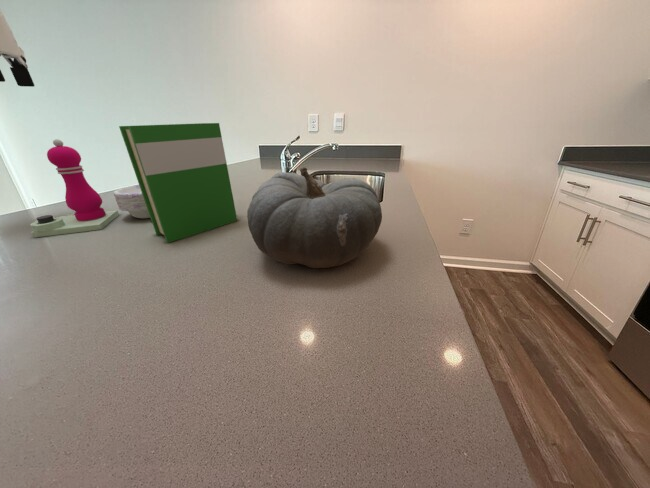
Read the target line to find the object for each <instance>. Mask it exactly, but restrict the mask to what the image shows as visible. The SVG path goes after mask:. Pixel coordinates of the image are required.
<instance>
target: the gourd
mask: <svg viewBox="0 0 650 488" xmlns="http://www.w3.org/2000/svg"><path fill="white" fill-rule="evenodd" d="M299 172H300V174H299V173H295V172H286V171H285V172H283V171H282V172H277V173H275V174H274V175H272V177H271V178H270V179H268V180H266V181H265V182H263V183H262V184H261V185H260V186H259V187H258V189H257V190H256V192H254V194H253V195H252V198H251V201H250V203H249V206H248V208H247V214H246V215H247V216H246V218H247V226H248V230H249V232H250V235H251V237H252V239H253V241H254V243H255V245H256V247H257V248H258V249H259V251H261V252H262V253H263V254H265V255H266V256H268V257H269V258H271V259H273V260H275V261H277V262H279V263H282V264H285V265H296V264H300V265H302V266H306V267H308V268H312V269H330V268H333V267H340V266H342V265H344V264H346V263H348V262H350V261H352V260H355V259H356V258H357V257H359V256H360V255H361V254H363V252H364V251H365V250H367V248H368V247H369V246H370V245H371V243H372V242H373V240H374V239H375V238H376V236H377V234H378V232H379V229H380V227H381V224H382V220H383V213H382V212H383V211H382V207H381V202H380V200H379V198H378V194H377V192H376V191H375V190H374V188H373V187H372V186H371V185H370V184H369V183H368V182H366V181H364V180H362V179H360V178H355V177H345V178H340V179H338V180H337V179H336V180H334V181H331V182H329V183H327V184H326V183H325V182H323V181H322V180H320V179H314V177H313V176H312V175H311V174H309V172H308V168H307V167H306V166H303V167H300V168H299Z"/></svg>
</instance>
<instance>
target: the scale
mask: <svg viewBox="0 0 650 488" xmlns="http://www.w3.org/2000/svg"><path fill="white" fill-rule="evenodd" d="M105 213H106V215H105V216H103V217H101V218H98V219H94V220H89V221H78V220H77V219H76V217H75V215H74V214H70V215H69V214H68V215H61V216H60V215H59V216H57V217H53V218H54V220H55V221H53V222H49V223H45V224H39V222H38V221H37V220H35V221H33V222H32V223H30V227H31V229H32V231H31V232H30V233H31V235H32V237H33V238H43V237H49V236H50V237H51V236H57V235H58V236H59V235H66V234H67V235H68V234H75V233H76V234H77V233H83V232H91V231H99V230H103V229H104V228H105V227H106V226H108V225H109V224H110V223H111V222H112V221H114V220H115V219H116V218H117V217H118V216H119V215H120V214H119V211H118V210H117V209H116V210H108V211H106V210H105Z"/></svg>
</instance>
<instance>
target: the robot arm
mask: <svg viewBox="0 0 650 488" xmlns="http://www.w3.org/2000/svg"><path fill="white" fill-rule="evenodd" d="M0 57H3V59H4V60H5V61H6V62H7V63H8V64H9V66H10V67H9V70H10V71H11V74H12V76H13V78H14V80H15V82H16V85H17V86H18V87H29V88H30V87H31V88H33V87H35V83H34V81H33V78H32V76H31V73H30V71H29V69H28V68H29V67H28V66H29V65H28V64H27V59H26V56H25V51H24V50H23V49H22V47H20V46H19V44H18V42H17V39H16V37H15V34H14V33H13V31H12V28H11V27H10V25H9V23H8V21H7V19H6V18H5V16H4V13H3V12H2V10H1V9H0ZM0 82H1V83H5V82H6V79H5V76H4V75H3V72H2V70H1V69H0Z"/></svg>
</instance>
